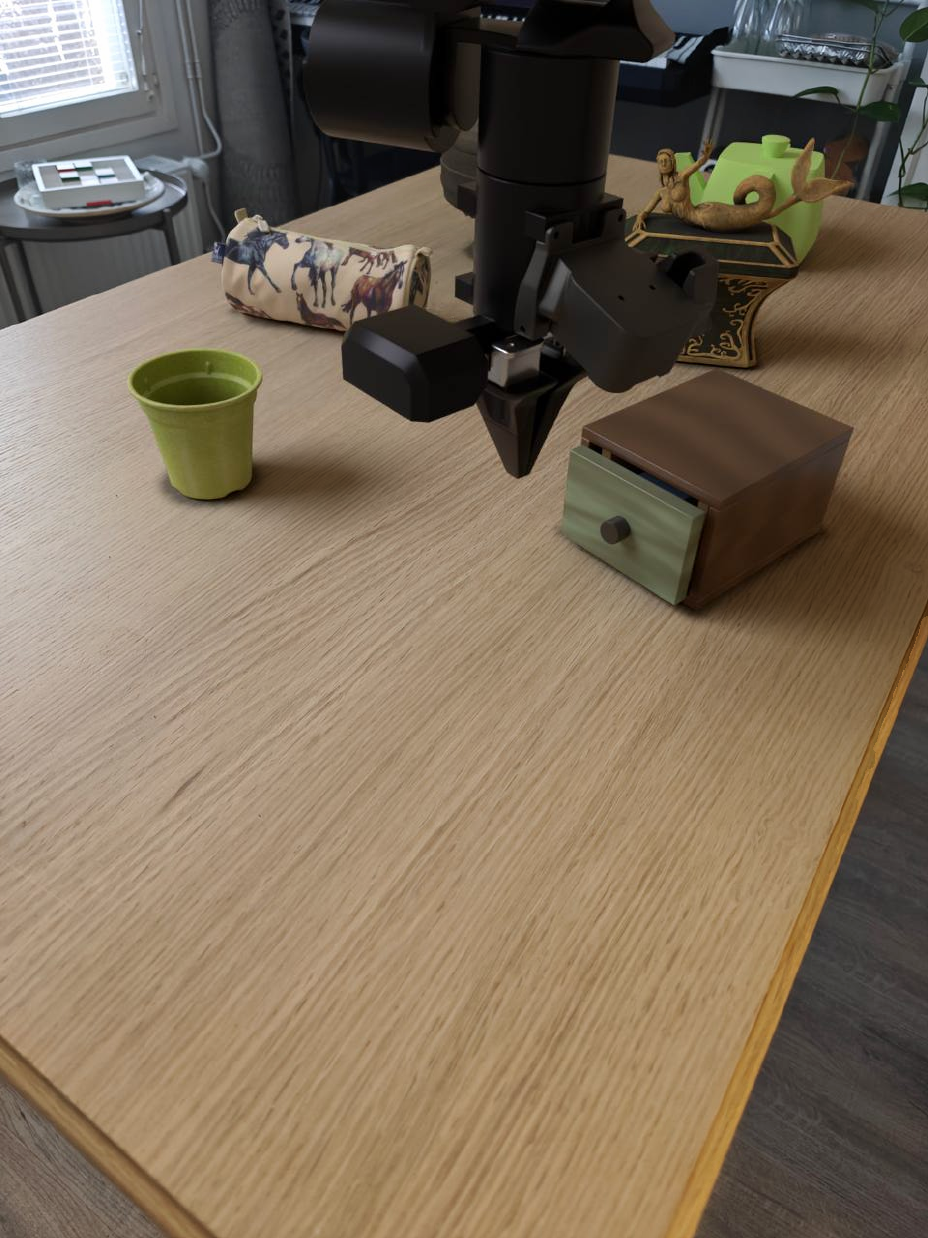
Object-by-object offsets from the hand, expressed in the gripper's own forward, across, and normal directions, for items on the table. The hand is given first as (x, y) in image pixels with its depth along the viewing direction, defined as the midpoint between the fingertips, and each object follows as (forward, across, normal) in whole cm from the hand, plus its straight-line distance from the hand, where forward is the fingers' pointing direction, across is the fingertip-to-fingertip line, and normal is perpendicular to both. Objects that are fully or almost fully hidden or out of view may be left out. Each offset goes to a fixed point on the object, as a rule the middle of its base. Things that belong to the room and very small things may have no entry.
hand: (517, 474), depth 51 cm
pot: (+12, +49, +52) cm, 72 cm away
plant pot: (+12, -5, +28) cm, 31 cm away
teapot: (+12, +72, +36) cm, 81 cm away
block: (+10, +15, 0) cm, 18 cm away
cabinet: (+12, +19, 0) cm, 22 cm away
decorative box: (+12, +45, +20) cm, 51 cm away
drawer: (+11, +16, 0) cm, 20 cm away
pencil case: (+12, +19, +47) cm, 52 cm away
